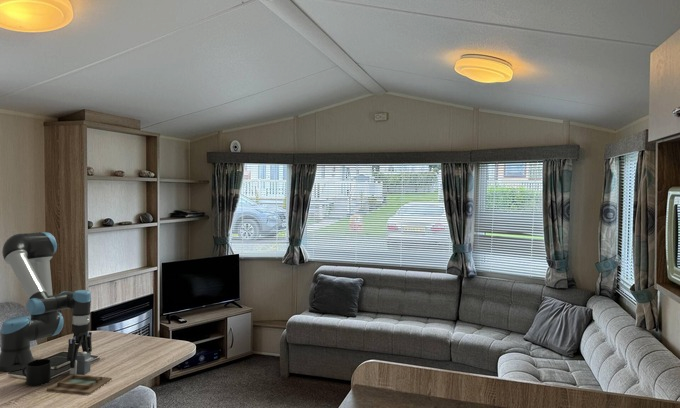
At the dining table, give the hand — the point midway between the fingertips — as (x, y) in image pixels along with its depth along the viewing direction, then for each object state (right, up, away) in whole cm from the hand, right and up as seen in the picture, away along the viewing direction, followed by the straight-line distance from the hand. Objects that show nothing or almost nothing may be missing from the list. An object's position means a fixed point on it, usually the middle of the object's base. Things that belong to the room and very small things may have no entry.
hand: (79, 371), depth 226 cm
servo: (0, -1, +1) cm, 2 cm away
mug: (-13, -1, -11) cm, 18 cm away
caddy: (+8, -2, -13) cm, 15 cm away
